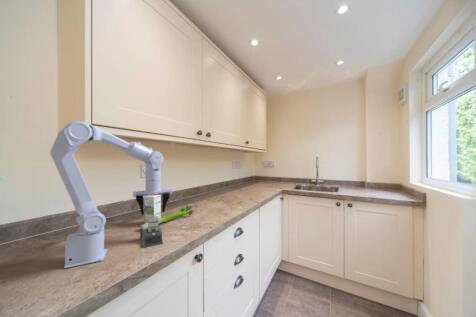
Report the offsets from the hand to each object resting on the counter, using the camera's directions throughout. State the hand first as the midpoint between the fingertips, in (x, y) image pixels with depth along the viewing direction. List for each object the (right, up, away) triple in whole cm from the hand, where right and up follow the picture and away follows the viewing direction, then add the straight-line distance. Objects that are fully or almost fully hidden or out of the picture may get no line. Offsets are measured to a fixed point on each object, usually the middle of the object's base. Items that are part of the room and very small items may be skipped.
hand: (153, 213), depth 75 cm
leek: (-1, -11, +20) cm, 23 cm away
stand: (-1, -10, +1) cm, 10 cm away
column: (0, -10, 0) cm, 10 cm away
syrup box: (-9, -11, +18) cm, 23 cm away
